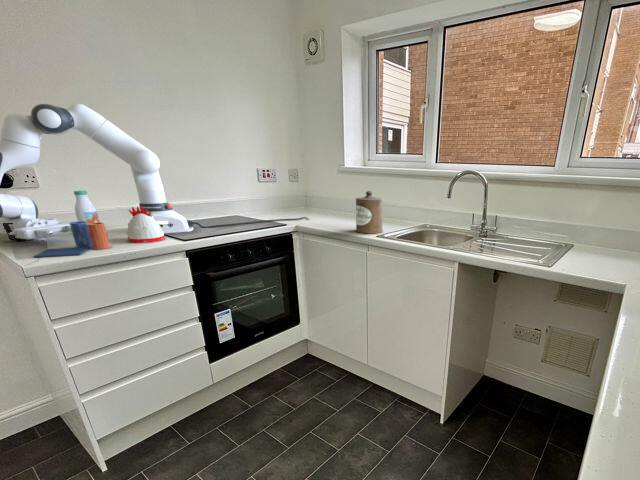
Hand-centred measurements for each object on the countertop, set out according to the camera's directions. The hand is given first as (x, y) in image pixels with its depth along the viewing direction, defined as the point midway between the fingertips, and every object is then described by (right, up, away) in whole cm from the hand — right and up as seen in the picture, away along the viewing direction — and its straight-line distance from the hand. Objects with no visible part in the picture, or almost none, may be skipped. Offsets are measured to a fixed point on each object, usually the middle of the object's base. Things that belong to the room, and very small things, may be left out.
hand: (62, 231), depth 145 cm
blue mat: (+10, -10, -9) cm, 17 cm away
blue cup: (+9, -6, +1) cm, 11 cm away
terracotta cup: (+17, -7, -1) cm, 18 cm away
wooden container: (+123, +11, +55) cm, 135 cm away
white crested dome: (+23, -1, +16) cm, 29 cm away
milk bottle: (-8, +3, +23) cm, 24 cm away
